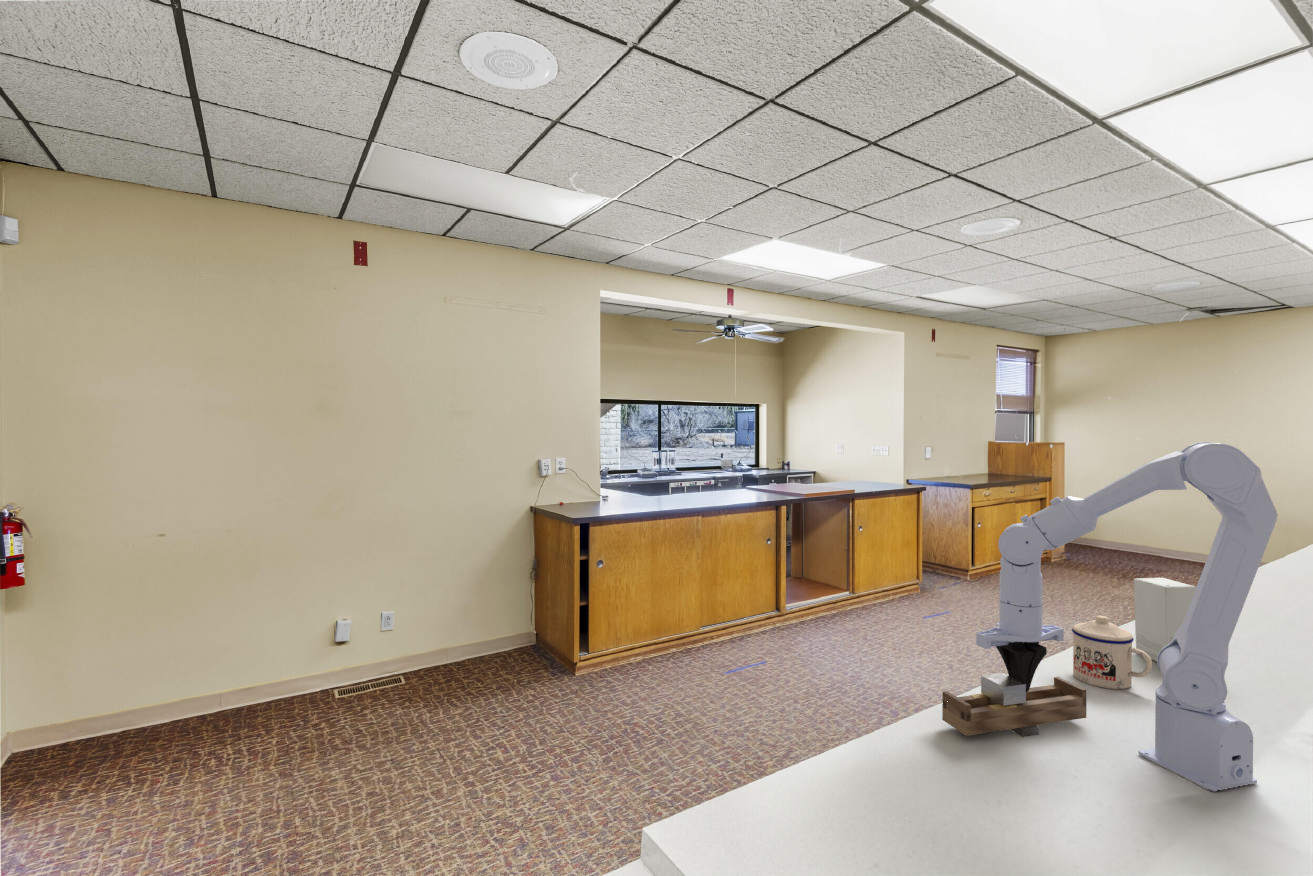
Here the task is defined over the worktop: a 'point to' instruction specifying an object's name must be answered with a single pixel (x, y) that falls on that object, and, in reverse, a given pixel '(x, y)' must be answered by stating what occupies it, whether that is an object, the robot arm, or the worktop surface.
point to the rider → (1003, 689)
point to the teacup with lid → (1105, 654)
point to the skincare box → (1159, 612)
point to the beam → (1016, 710)
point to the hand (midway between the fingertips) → (1019, 689)
